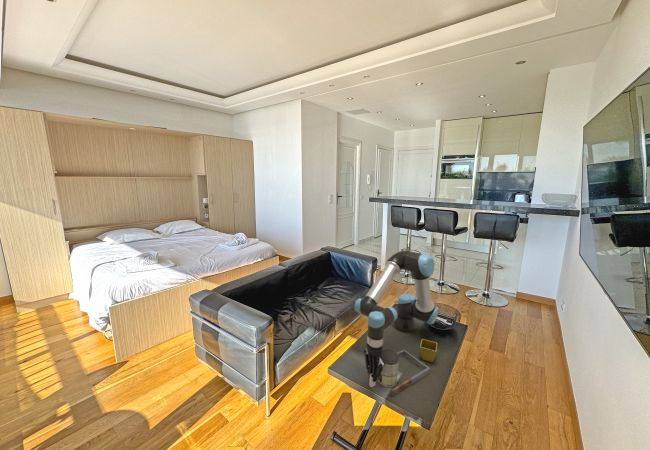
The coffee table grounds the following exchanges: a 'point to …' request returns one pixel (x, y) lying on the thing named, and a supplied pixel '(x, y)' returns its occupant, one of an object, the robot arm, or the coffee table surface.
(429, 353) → the flower pot
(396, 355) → the coffee can
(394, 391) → the slot rails
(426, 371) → the grey piece
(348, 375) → the coffee table surface
